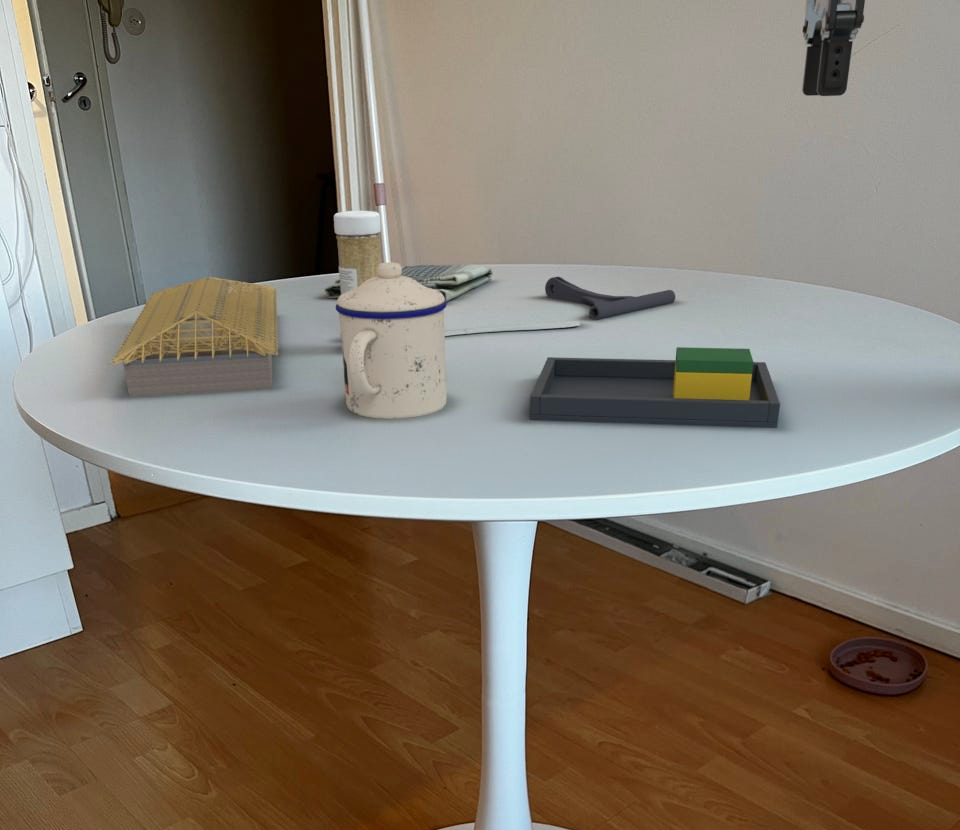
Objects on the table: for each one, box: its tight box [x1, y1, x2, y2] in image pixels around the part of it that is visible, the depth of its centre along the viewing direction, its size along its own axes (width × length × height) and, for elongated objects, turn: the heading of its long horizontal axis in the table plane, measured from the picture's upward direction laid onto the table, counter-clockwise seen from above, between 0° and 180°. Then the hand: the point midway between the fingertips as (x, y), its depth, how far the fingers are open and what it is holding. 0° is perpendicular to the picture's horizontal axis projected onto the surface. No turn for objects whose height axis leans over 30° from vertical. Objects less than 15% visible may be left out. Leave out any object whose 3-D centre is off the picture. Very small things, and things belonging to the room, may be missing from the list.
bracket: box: [544, 276, 676, 321], centre depth 125 cm, size 14×15×3 cm
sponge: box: [673, 346, 754, 400], centre depth 83 cm, size 6×4×4 cm
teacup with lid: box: [335, 262, 448, 420], centre depth 83 cm, size 12×9×12 cm
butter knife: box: [444, 320, 581, 337], centre depth 111 cm, size 1×27×3 cm
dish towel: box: [324, 263, 493, 302], centre depth 136 cm, size 19×18×3 cm
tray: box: [529, 356, 781, 429], centre depth 86 cm, size 20×14×2 cm
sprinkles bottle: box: [333, 210, 382, 295], centre depth 102 cm, size 5×5×14 cm
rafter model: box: [110, 276, 279, 398], centre depth 104 cm, size 35×14×6 cm, turn 10°
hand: (822, 95), depth 84 cm, fingers open, 8 cm apart
